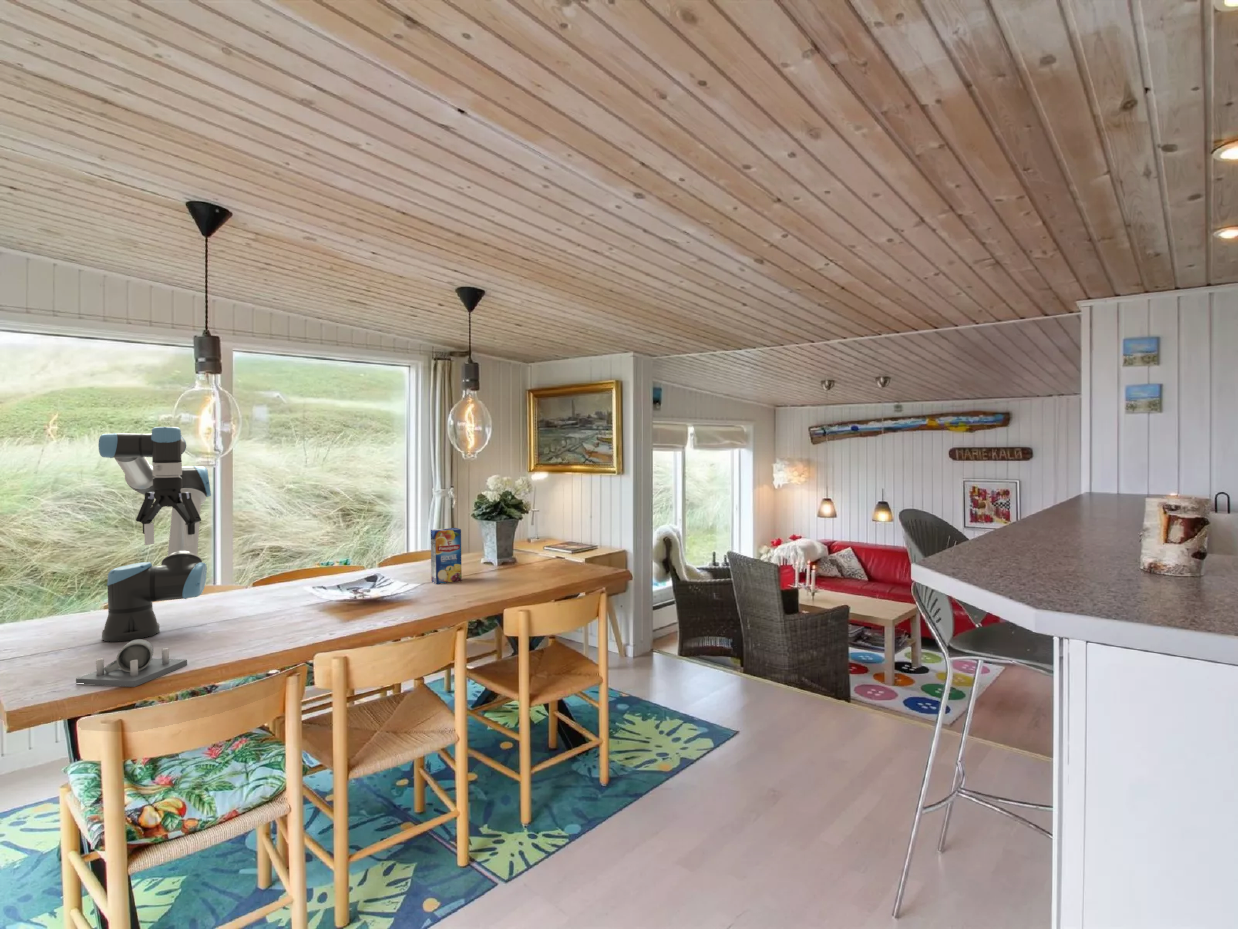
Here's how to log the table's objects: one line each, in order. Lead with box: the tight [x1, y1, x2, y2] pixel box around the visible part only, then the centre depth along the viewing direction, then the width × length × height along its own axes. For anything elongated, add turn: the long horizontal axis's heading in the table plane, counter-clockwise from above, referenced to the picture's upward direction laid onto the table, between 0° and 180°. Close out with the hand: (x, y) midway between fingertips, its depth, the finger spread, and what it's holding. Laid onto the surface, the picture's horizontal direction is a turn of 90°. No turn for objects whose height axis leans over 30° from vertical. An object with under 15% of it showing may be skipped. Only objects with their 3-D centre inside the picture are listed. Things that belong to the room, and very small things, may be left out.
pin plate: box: [75, 647, 188, 688], centre depth 174 cm, size 17×17×6 cm
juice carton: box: [430, 527, 463, 585], centre depth 296 cm, size 12×8×24 cm, turn 123°
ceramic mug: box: [104, 638, 154, 673], centre depth 174 cm, size 11×8×8 cm
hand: (169, 544), depth 200 cm, fingers open, 13 cm apart
